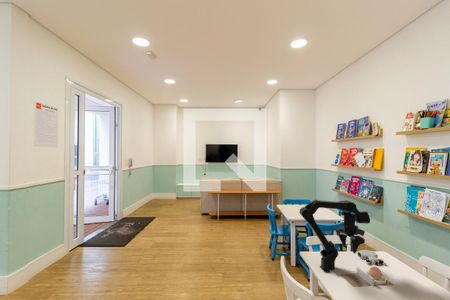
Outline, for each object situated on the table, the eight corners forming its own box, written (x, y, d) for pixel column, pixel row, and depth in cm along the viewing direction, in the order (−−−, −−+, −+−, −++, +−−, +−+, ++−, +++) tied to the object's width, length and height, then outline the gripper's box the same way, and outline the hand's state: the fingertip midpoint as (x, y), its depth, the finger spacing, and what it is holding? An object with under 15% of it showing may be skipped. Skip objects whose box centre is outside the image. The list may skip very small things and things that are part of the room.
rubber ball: (374, 282, 118) (374, 270, 118) (366, 275, 124) (366, 264, 124) (385, 281, 118) (385, 270, 118) (376, 275, 124) (376, 264, 124)
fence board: (353, 288, 113) (353, 279, 114) (339, 275, 125) (339, 267, 125) (394, 286, 115) (394, 278, 115) (376, 274, 127) (376, 266, 127)
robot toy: (387, 269, 135) (373, 256, 150) (388, 262, 135) (373, 249, 150) (366, 268, 136) (354, 255, 151) (366, 261, 136) (354, 248, 151)
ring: (373, 284, 116) (373, 282, 116) (361, 274, 125) (361, 272, 125) (390, 283, 117) (390, 281, 117) (377, 273, 126) (377, 272, 126)
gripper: (374, 227, 123) (374, 256, 123) (351, 218, 142) (351, 243, 141) (354, 228, 122) (354, 257, 122) (335, 218, 141) (334, 243, 140)
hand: (349, 249), depth 131 cm, fingers open, 9 cm apart
